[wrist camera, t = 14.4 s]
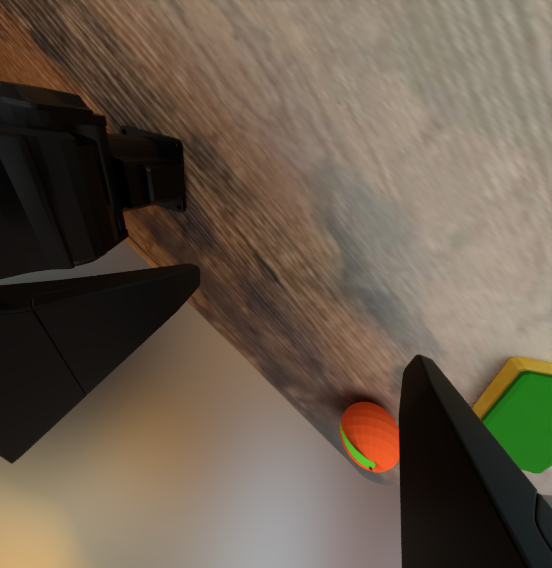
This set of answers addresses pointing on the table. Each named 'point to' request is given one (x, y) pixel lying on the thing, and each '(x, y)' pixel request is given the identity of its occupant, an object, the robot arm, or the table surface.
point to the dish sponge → (521, 412)
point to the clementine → (370, 436)
